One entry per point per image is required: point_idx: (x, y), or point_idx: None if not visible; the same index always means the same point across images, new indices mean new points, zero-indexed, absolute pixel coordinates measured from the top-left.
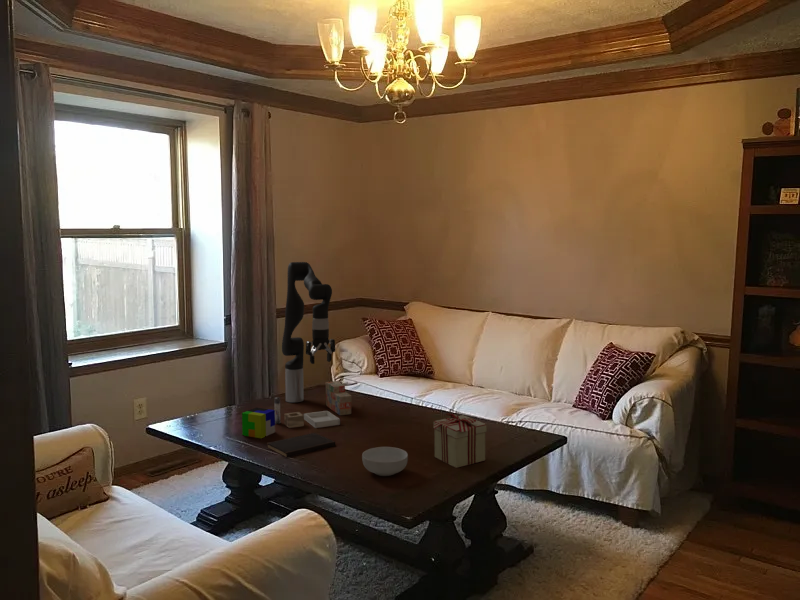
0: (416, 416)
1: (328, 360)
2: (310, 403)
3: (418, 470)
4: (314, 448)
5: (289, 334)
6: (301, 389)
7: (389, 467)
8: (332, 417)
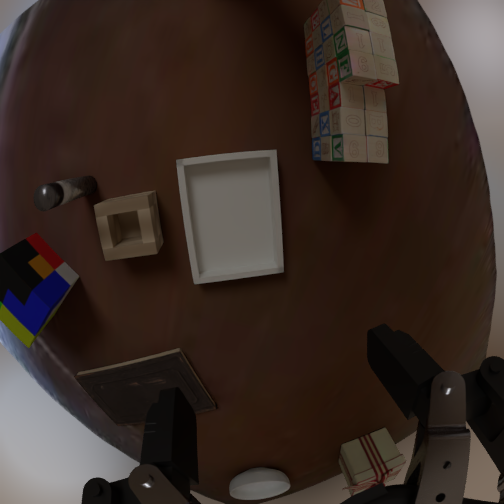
0: (456, 253)
1: (373, 357)
2: None
3: (297, 469)
4: None
5: None
6: None
7: (254, 494)
8: (272, 216)
